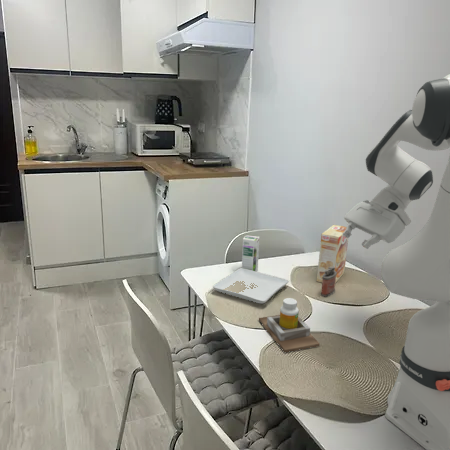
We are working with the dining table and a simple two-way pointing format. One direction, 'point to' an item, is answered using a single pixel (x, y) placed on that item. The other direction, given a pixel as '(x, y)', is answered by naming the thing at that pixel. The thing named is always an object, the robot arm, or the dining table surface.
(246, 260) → the syrup box
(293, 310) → the supplement bottle
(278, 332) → the socket board
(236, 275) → the salad plate
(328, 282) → the lighter
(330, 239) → the coffeecake box
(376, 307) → the dining table surface
